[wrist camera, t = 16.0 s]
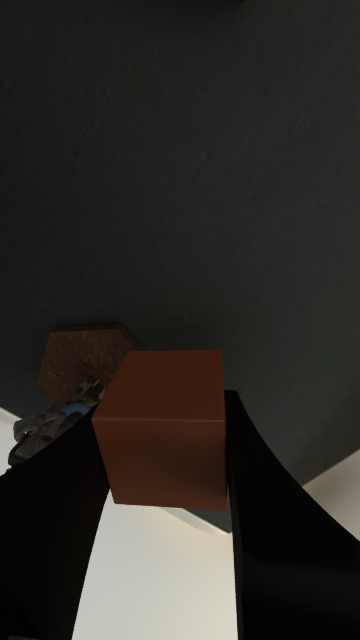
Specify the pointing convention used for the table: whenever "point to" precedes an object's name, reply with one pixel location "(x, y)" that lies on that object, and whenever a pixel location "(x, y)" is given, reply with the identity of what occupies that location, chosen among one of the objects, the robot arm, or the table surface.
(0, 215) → the table surface
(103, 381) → the robot figurine
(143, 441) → the block
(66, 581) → the robot arm
